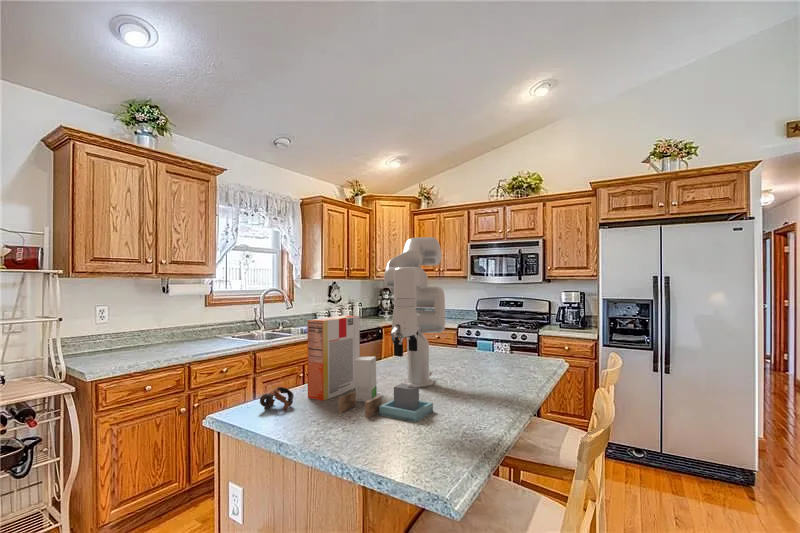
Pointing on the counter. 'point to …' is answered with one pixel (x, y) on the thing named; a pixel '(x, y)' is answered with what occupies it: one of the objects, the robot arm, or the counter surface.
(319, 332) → the cereal box
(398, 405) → the grey rectangular block
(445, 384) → the counter surface
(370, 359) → the skincare box
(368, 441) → the counter surface
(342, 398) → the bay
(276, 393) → the brown looped piece
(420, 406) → the tray
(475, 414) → the counter surface
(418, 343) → the robot arm
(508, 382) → the counter surface
